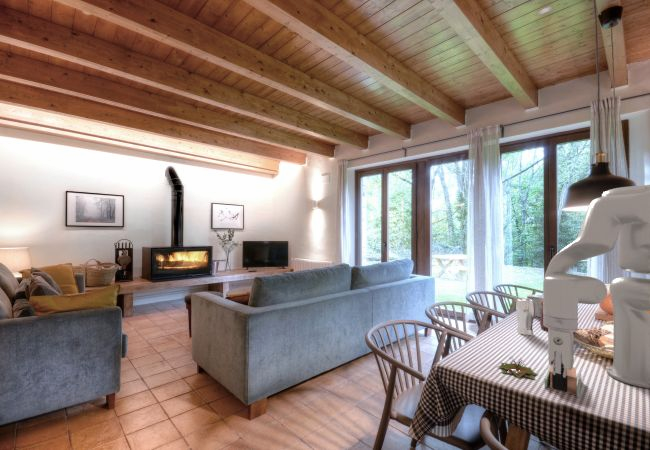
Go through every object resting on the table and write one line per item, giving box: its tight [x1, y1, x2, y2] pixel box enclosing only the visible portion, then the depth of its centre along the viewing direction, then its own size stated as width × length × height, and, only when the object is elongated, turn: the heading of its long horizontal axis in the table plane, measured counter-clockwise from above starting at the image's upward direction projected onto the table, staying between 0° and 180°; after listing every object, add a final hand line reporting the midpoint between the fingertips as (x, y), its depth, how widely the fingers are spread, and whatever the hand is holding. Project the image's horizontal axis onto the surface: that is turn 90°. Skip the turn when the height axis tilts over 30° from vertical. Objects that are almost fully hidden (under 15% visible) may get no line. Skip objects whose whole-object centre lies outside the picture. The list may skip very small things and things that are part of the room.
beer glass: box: [515, 297, 535, 337], centre depth 136 cm, size 7×7×15 cm
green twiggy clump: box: [498, 355, 539, 380], centre depth 99 cm, size 12×12×5 cm
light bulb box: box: [526, 293, 543, 318], centre depth 165 cm, size 11×7×11 cm, turn 58°
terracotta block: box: [549, 364, 578, 396], centre depth 90 cm, size 6×8×5 cm
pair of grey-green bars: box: [544, 365, 582, 398], centre depth 91 cm, size 8×12×2 cm, turn 138°
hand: (559, 389), depth 83 cm, fingers closed
